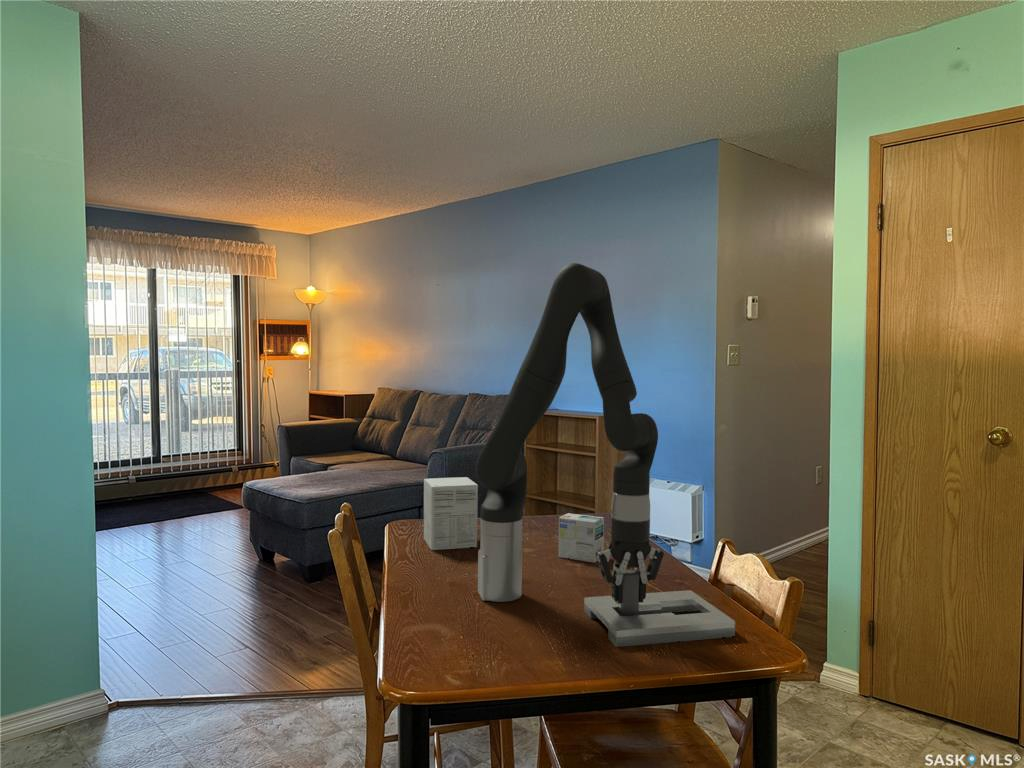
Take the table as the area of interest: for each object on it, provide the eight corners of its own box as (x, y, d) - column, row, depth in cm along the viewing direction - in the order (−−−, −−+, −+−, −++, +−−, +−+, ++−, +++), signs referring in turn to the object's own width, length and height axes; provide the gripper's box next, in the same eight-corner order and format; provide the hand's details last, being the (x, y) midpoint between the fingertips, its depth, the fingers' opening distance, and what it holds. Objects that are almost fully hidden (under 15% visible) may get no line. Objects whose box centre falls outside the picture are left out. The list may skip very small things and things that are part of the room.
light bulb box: (604, 557, 186) (605, 516, 186) (595, 563, 180) (596, 521, 180) (567, 551, 191) (567, 512, 191) (557, 557, 185) (557, 516, 185)
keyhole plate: (616, 646, 129) (616, 630, 129) (584, 611, 146) (584, 597, 146) (734, 636, 134) (735, 621, 134) (690, 603, 152) (690, 590, 152)
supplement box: (478, 547, 194) (478, 484, 193) (430, 551, 190) (431, 486, 189) (467, 535, 206) (468, 476, 206) (422, 538, 203) (423, 478, 202)
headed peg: (619, 632, 135) (620, 578, 135) (608, 620, 141) (609, 569, 141) (648, 630, 137) (649, 576, 136) (636, 618, 143) (637, 567, 142)
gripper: (603, 521, 133) (601, 611, 133) (672, 518, 136) (670, 606, 137) (589, 512, 140) (588, 597, 141) (656, 509, 143) (654, 593, 144)
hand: (628, 601), depth 139 cm, fingers closed on headed peg, 4 cm apart
